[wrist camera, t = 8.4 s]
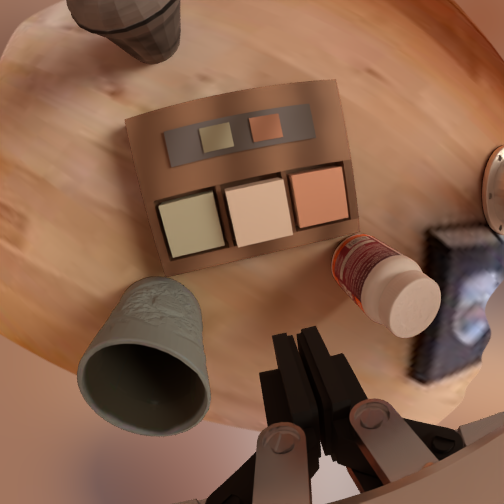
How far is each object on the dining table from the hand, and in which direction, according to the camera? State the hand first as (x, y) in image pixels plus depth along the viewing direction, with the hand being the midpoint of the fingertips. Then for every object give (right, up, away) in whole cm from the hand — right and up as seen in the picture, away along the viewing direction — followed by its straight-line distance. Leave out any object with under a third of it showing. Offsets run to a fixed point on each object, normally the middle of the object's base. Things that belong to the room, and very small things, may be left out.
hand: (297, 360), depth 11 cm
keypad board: (-2, +11, +16) cm, 20 cm away
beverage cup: (-10, +23, +11) cm, 28 cm away
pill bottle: (+9, +3, +20) cm, 22 cm away
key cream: (-1, +8, +14) cm, 16 cm away
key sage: (-7, +7, +15) cm, 18 cm away
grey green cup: (-11, -2, +19) cm, 22 cm away
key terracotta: (+4, +9, +16) cm, 19 cm away
